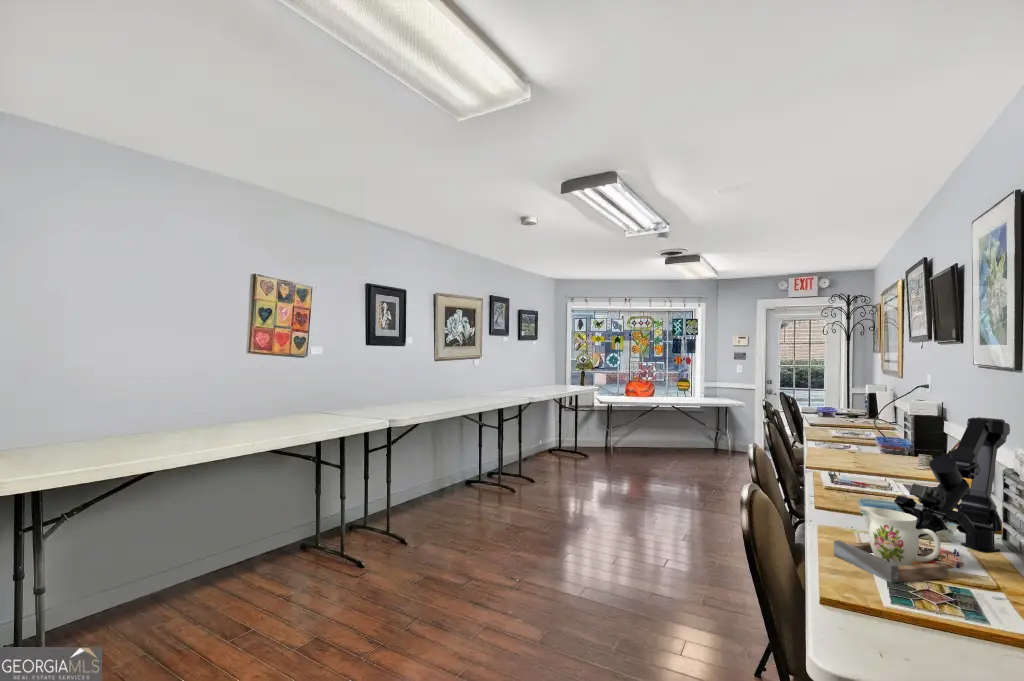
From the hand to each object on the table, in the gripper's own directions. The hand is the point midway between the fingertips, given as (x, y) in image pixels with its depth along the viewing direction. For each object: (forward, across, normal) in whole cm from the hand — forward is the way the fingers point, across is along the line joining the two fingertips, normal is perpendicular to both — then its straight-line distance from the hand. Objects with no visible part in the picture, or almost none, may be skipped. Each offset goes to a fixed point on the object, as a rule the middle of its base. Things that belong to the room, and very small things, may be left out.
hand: (914, 537), depth 144 cm
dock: (+11, 0, -1) cm, 11 cm away
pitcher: (+9, 0, +2) cm, 9 cm away
